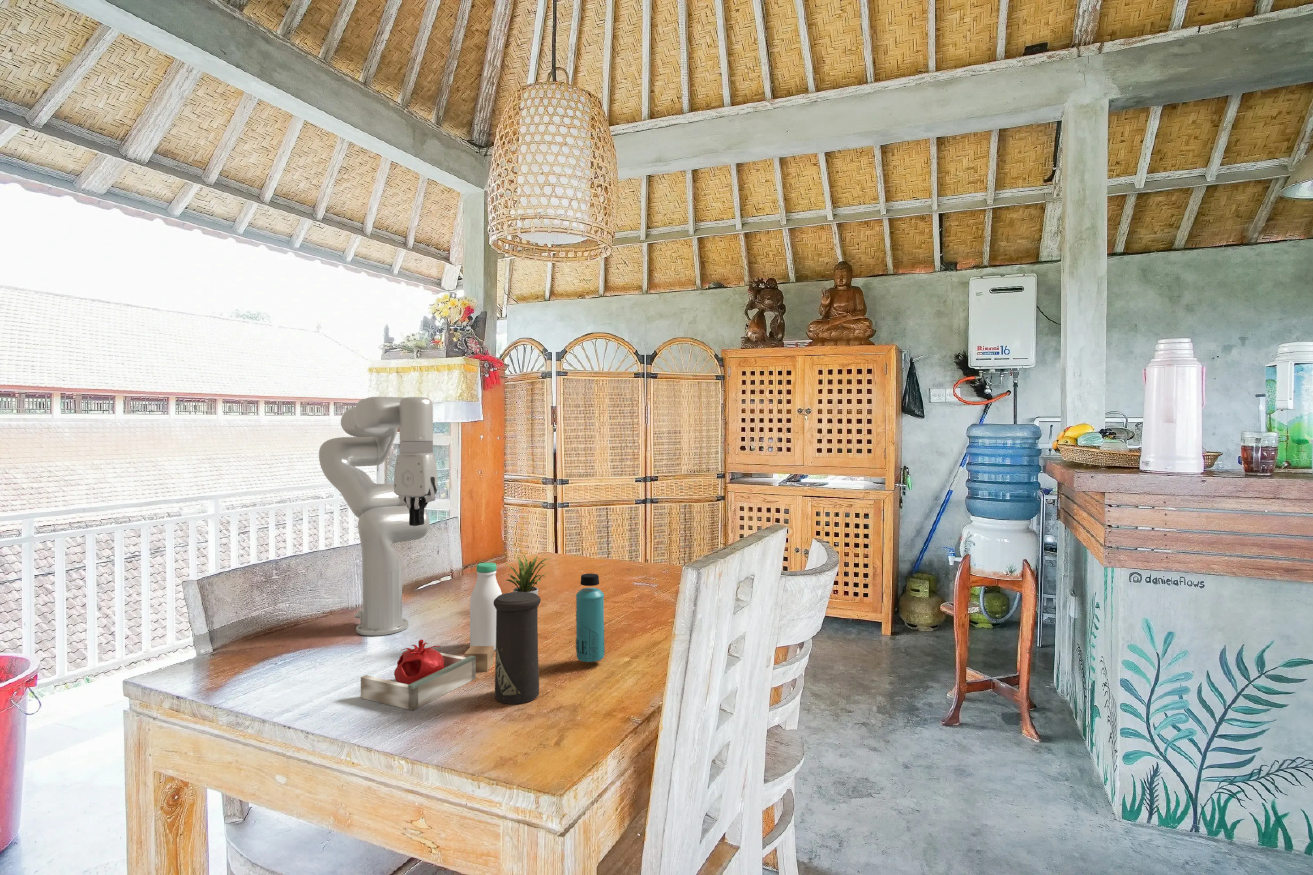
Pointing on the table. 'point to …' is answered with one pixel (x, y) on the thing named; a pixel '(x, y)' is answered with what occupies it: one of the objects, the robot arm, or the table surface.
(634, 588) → the table surface
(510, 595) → the container
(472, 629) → the milk bottle
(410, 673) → the pomegranate
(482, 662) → the teak block
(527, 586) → the house plant
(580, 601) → the beverage bottle
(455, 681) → the display stand
